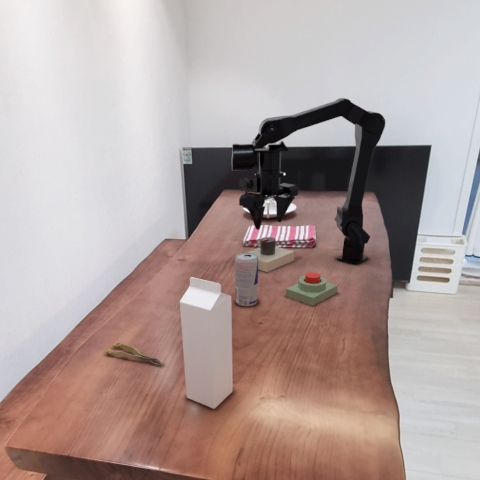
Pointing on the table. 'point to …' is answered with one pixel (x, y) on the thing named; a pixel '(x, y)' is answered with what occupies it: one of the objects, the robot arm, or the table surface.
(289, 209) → the candlestick
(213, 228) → the table surface
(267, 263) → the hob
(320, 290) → the button base
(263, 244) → the knob
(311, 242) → the dish towel
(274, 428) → the table surface
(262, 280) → the table surface
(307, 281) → the button
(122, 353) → the dried herb bundle
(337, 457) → the table surface
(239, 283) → the energy drink
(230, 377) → the milk
